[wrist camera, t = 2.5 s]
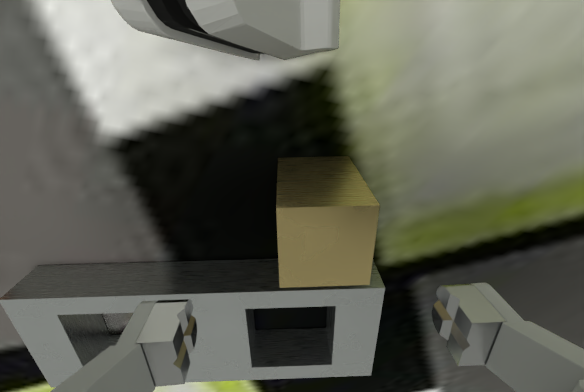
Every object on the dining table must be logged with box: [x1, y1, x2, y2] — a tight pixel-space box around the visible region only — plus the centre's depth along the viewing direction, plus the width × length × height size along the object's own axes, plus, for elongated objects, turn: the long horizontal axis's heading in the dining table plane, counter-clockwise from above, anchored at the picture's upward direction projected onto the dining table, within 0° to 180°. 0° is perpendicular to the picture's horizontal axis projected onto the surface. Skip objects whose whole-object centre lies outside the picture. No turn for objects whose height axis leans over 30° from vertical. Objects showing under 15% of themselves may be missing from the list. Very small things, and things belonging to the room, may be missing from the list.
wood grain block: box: [276, 156, 380, 288], centre depth 15 cm, size 4×4×6 cm
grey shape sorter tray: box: [0, 259, 385, 387], centre depth 20 cm, size 22×8×3 cm, turn 91°
